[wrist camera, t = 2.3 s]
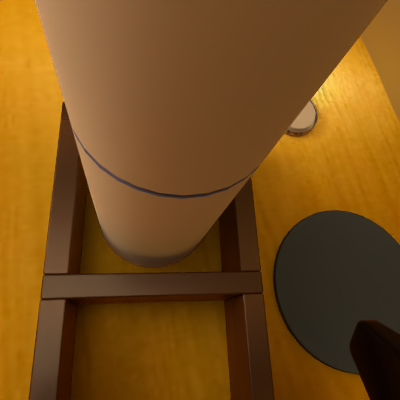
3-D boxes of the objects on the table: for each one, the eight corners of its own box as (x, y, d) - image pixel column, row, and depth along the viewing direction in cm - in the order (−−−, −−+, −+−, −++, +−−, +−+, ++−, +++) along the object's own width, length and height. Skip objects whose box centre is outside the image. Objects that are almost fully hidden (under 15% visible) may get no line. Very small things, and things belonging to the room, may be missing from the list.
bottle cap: (315, 102, 29) (319, 97, 29) (312, 141, 28) (316, 136, 27) (271, 88, 29) (274, 83, 28) (266, 127, 27) (269, 123, 27)
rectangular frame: (258, 492, 19) (289, 531, 15) (34, 525, 17) (7, 580, 13) (229, 145, 26) (245, 115, 23) (72, 136, 24) (62, 101, 20)
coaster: (441, 283, 26) (445, 283, 25) (371, 413, 21) (376, 415, 21) (328, 184, 27) (330, 182, 26) (241, 288, 23) (243, 288, 22)
